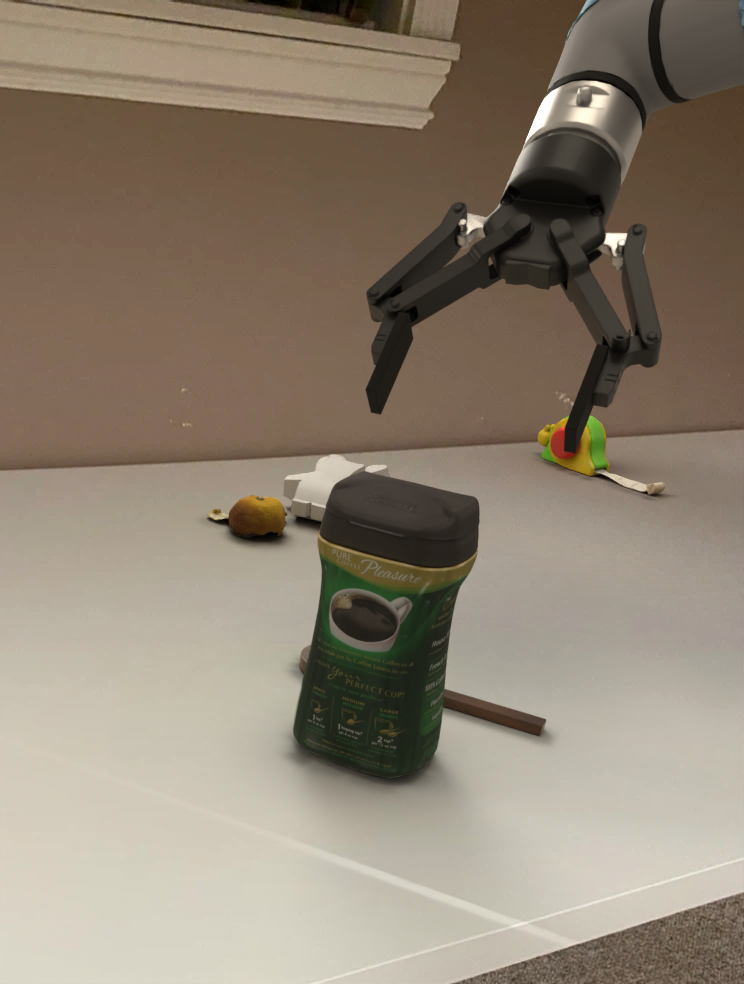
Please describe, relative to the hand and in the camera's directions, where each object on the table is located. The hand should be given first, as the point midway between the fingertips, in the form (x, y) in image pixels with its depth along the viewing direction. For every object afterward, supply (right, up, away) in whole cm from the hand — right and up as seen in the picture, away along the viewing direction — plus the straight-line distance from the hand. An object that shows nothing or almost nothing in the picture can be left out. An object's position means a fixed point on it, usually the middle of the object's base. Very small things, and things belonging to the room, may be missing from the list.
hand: (467, 421), depth 74 cm
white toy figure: (-4, +3, +47) cm, 47 cm away
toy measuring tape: (+33, +12, +69) cm, 77 cm away
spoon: (-2, -18, +10) cm, 21 cm away
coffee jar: (-7, -22, +2) cm, 23 cm away
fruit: (-12, 0, +40) cm, 42 cm away
